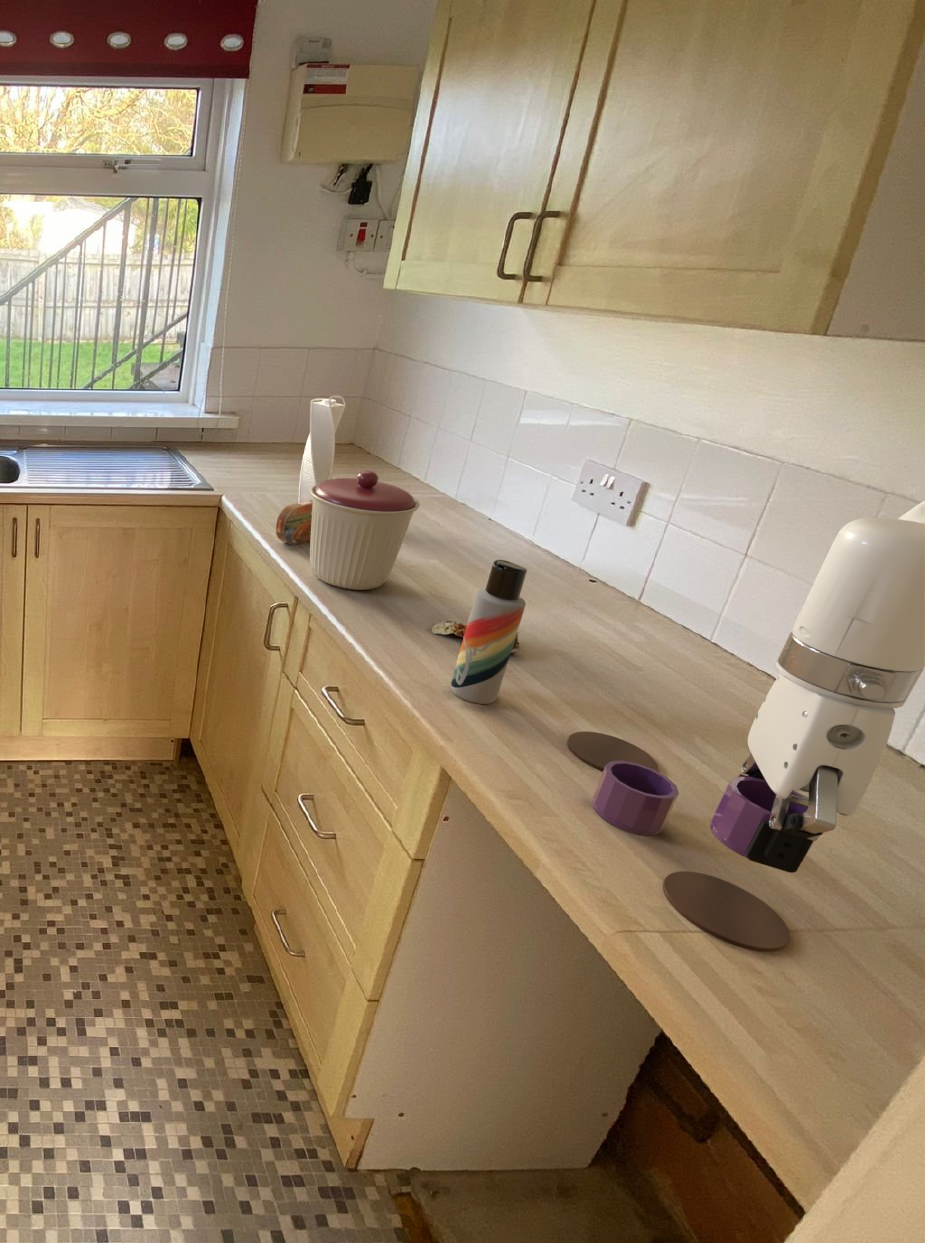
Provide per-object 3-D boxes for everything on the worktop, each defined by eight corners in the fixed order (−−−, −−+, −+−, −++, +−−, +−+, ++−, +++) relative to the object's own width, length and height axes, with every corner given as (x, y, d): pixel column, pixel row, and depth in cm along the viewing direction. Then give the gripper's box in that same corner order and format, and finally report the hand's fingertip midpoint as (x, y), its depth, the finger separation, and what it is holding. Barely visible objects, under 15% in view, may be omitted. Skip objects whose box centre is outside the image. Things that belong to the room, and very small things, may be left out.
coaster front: (771, 898, 74) (773, 895, 74) (803, 968, 66) (805, 965, 66) (654, 861, 78) (656, 858, 78) (672, 923, 71) (673, 920, 71)
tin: (282, 548, 157) (288, 509, 154) (270, 543, 160) (276, 505, 157) (329, 536, 164) (336, 499, 161) (317, 531, 167) (324, 495, 164)
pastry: (435, 622, 127) (440, 602, 126) (519, 644, 121) (526, 624, 119) (427, 637, 122) (433, 617, 121) (515, 661, 115) (522, 640, 114)
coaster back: (650, 748, 96) (651, 745, 96) (663, 789, 89) (665, 786, 88) (564, 726, 100) (564, 723, 100) (570, 763, 93) (571, 760, 93)
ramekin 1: (656, 809, 85) (671, 772, 83) (667, 844, 80) (684, 806, 78) (588, 789, 88) (602, 754, 86) (595, 822, 83) (610, 785, 81)
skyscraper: (330, 519, 175) (353, 397, 164) (293, 515, 177) (314, 394, 166) (326, 507, 182) (348, 390, 172) (291, 504, 184) (310, 388, 174)
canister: (351, 556, 154) (372, 455, 146) (422, 593, 138) (450, 481, 130) (276, 565, 149) (293, 461, 141) (340, 605, 133) (364, 489, 125)
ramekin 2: (788, 835, 70) (811, 791, 68) (812, 880, 65) (838, 834, 63) (702, 810, 73) (722, 768, 71) (719, 851, 68) (740, 807, 66)
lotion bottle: (440, 686, 108) (475, 557, 101) (470, 680, 110) (508, 552, 103) (474, 707, 103) (514, 573, 96) (505, 701, 105) (547, 569, 98)
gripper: (965, 737, 54) (851, 925, 60) (865, 637, 67) (782, 799, 74) (820, 704, 57) (728, 885, 64) (753, 616, 71) (683, 772, 78)
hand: (757, 837), depth 69 cm, fingers closed on ramekin 2, 6 cm apart
